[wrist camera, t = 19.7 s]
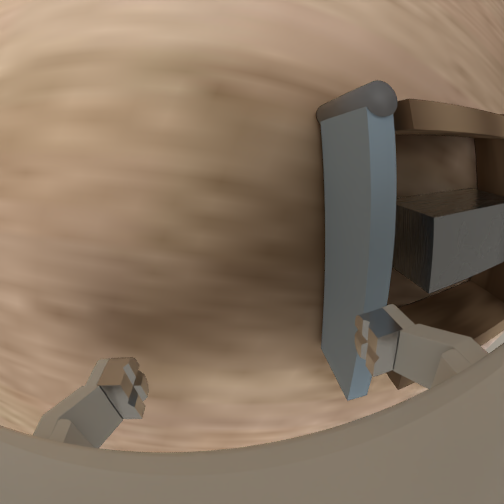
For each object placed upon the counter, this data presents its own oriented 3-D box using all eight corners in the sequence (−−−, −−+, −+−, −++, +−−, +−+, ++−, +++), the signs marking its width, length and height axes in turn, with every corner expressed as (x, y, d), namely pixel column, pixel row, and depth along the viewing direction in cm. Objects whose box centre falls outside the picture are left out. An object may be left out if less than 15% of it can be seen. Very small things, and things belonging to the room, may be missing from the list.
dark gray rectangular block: (469, 187, 16) (517, 200, 11) (468, 237, 17) (512, 257, 12) (381, 199, 15) (434, 217, 11) (382, 260, 17) (428, 293, 12)
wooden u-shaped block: (479, 116, 14) (536, 117, 8) (474, 294, 19) (516, 324, 13) (343, 105, 13) (405, 83, 8) (357, 340, 18) (396, 396, 13)
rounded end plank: (339, 104, 13) (395, 83, 8) (337, 342, 18) (370, 397, 13) (315, 103, 13) (363, 78, 8) (318, 346, 18) (347, 404, 13)
